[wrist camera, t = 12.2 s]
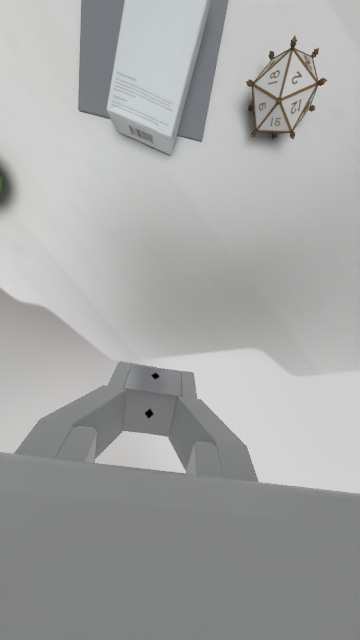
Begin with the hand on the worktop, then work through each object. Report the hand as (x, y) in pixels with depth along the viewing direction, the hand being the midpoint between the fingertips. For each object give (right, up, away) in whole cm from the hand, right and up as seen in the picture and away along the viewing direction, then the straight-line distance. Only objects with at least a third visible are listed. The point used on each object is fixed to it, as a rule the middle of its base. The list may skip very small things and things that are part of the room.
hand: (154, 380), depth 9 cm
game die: (+13, +31, +22) cm, 40 cm away
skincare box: (-4, +26, +19) cm, 33 cm away
